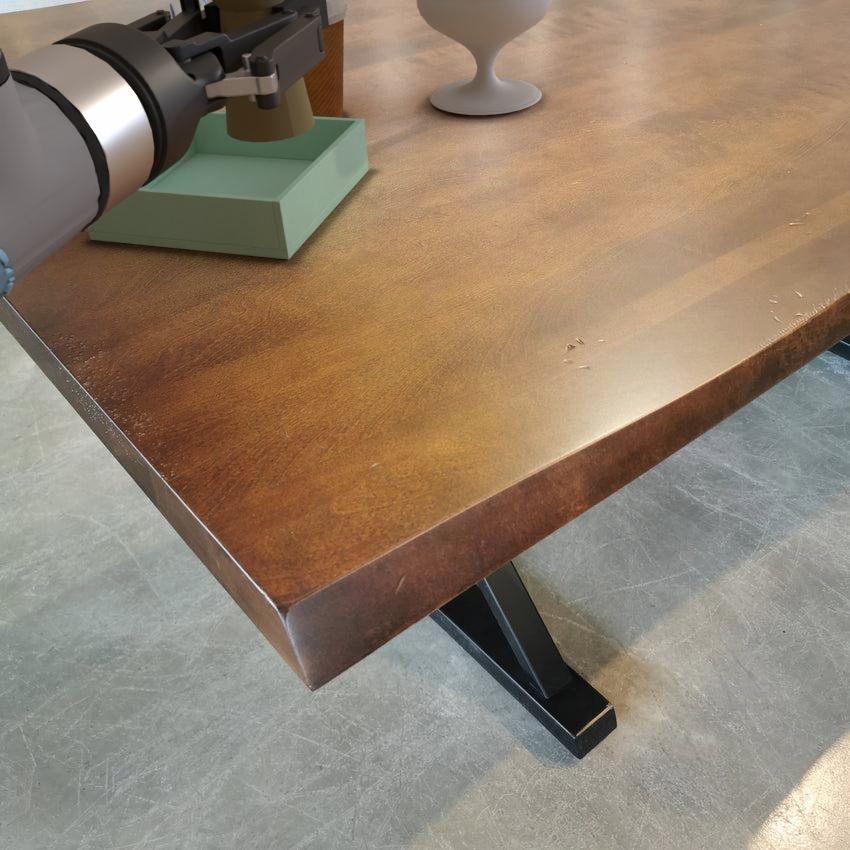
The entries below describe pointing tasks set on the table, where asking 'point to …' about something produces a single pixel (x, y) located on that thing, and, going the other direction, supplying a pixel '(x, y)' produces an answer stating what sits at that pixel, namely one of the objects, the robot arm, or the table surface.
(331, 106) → the disposable coffee cup
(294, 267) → the table surface
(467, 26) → the chalice
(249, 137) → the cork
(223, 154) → the square tray
